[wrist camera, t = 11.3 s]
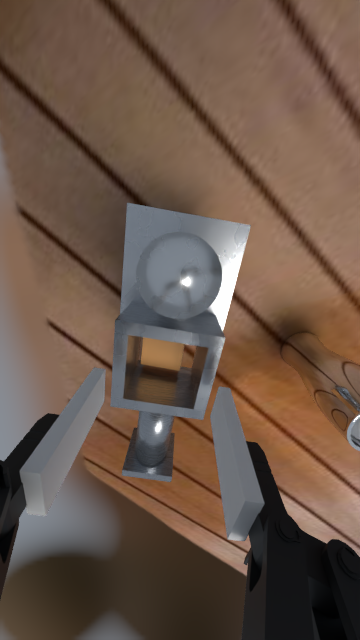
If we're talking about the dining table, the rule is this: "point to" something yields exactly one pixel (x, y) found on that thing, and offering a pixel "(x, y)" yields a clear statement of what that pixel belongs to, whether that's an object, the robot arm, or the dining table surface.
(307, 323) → the dining table surface
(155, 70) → the dining table surface
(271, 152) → the dining table surface
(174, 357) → the tan wooden block
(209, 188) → the dining table surface
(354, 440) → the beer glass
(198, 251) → the metal pedestal stand
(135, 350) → the bracket
